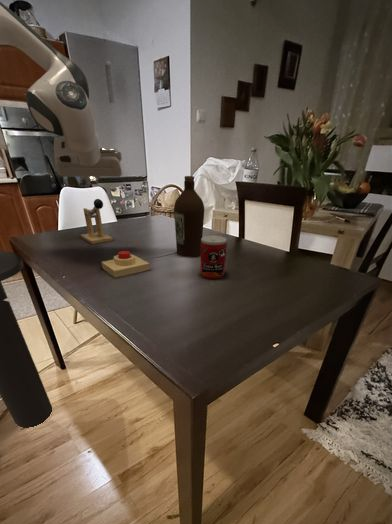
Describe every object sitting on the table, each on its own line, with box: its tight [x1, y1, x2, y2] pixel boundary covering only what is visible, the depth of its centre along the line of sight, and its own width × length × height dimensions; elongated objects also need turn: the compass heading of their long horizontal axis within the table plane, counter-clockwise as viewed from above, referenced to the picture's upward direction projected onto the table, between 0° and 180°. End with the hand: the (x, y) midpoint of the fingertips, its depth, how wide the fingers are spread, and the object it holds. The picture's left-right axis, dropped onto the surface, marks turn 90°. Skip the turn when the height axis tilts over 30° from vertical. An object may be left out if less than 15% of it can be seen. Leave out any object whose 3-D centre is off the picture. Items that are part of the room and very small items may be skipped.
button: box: [117, 250, 131, 259], centre depth 89 cm, size 4×4×2 cm
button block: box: [101, 253, 151, 279], centre depth 91 cm, size 12×10×4 cm
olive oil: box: [173, 175, 205, 258], centre depth 100 cm, size 11×11×25 cm
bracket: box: [80, 207, 113, 245], centre depth 117 cm, size 12×9×12 cm
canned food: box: [199, 235, 228, 280], centre depth 86 cm, size 8×8×11 cm
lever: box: [89, 198, 104, 219], centre depth 110 cm, size 13×3×3 cm, turn 38°
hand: (93, 182), depth 98 cm, fingers closed
